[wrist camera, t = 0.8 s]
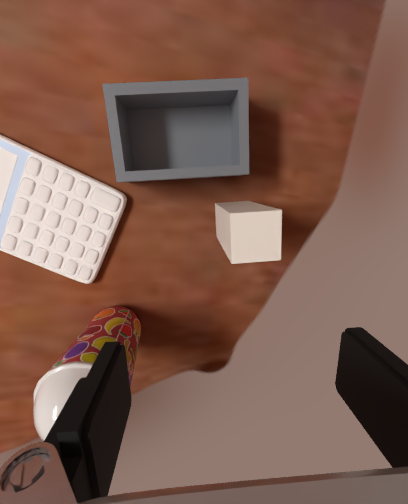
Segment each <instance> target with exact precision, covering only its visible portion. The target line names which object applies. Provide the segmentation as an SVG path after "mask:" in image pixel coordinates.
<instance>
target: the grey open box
mask: <svg viewBox="0 0 408 504" xmlns="http://www.w3.org/2000/svg"><path fill="white" fill-rule="evenodd" d="M103 91H104V98H105V105H106V112H107V118H108V125H109V132H110V139H111V146H112V153H113V160H114V167H115V174H116V180H117V182H144V181H160V180H177V179H194V178H210V177H227V176H241V175H247V174H249V101H248V78H231V79H207V80H184V81H160V82H136V83H113V84H103Z"/></svg>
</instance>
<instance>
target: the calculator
mask: <svg viewBox="0 0 408 504" xmlns="http://www.w3.org/2000/svg"><path fill="white" fill-rule="evenodd" d="M51 183H52V184H51ZM66 190H67V191H66ZM126 202H127V197H126V196H125V194H123V193H122V192H120V191H118V190H117V189H115V188H112V187H110V186H108V185H106V184H104V183H102V182H100V181H98V180H96V179H94V178H91V177H89V176H87V175H85V174H83V173H81V172H79V171H77V170H75V169H72V168H70V167H68V166H66V165H64V164H62V163H60V162H58V161H56V160H54V159H51V158H49V157H47V156H45V155H43V154H41V153H39V152H37V151H35V150H32V149H30V148H28V147H26V146H24V145H22V144H20V143H18V142H16V141H14V140H11V139H9V138H7V137H5V136H3V135H1V134H0V250H1V251H3V252H6V253H8V254H11V255H13V256H16V257H18V258H21V259H23V260H26V261H28V262H31V263H33V264H36V265H38V266H41V267H43V268H46V269H48V270H51V271H53V272H56V273H59V274H61V275H64V276H66V277H69V278H71V279H74V280H76V281H79V282H82V283H86V284H88V283H91V282H93V281H94V279H95V278H96V276H97V274H98V272H99V269H100V267H101V265H102V262H103V260H104V257H105V255H106V253H107V250H108V248H109V245H110V243H111V240H112V238H113V236H114V233H115V231H116V228H117V226H118V223H119V221H120V219H121V216H122V214H123V211H124V209H125V206H126ZM23 214H24V215H23ZM96 231H97V232H96ZM71 234H72V235H71ZM50 245H51V246H50ZM44 262H45V263H44Z"/></svg>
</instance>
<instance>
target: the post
mask: <svg viewBox="0 0 408 504" xmlns="http://www.w3.org/2000/svg"><path fill="white" fill-rule="evenodd" d="M215 213H216V234H217V238H218V240H219V242H220V244H221V246H222V247H223V249H224V251H225V253H226V255H227V256H228V258H229V260H230V262H231V264H236V263H249V262H262V261H275V260H281V234H282V210H280V209H277V208H273V207H269V206H266V205H262V204H258V203H255V202H251V201H240V202H225V203H215Z"/></svg>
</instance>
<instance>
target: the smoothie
mask: <svg viewBox="0 0 408 504" xmlns="http://www.w3.org/2000/svg"><path fill="white" fill-rule="evenodd" d="M140 335H141V324H140V321H139V319H138V318H137V316H136V315H135V313H134V312H133V311H131V310H130V309H128V308H126V307H123V306H113V307H109V308H105V309H103V310H101V311H100V312H98V314H97V315H96V316H95V317H94V318H93V319H92V321H91V322H90V323H89V324H88V325H87V326H86V328H85V329H84V330H83V331H82V332H81V333H80V335H79V336H78V337H77V338H76V339H75V340H74V342H73V343H72V344H71V345H70V346H69V348H68V349H67V350H66V351H65V352H64V353H63V355H62V356H61V357H60V358H59V359H58V360H57V362H56V363H55V364H54V365H53V366H52V367H51V369H50V370H49V371H48V372H47V373H46V374H45V375H44V376H43V377H42V378H41V379H40V380H39V381H38V383H37V386H36V388H35V391H34V425H35V427H36V430H37V432H38V434H39V436H40V438H41V439H42V440H43V441H44V440H45V439H46V437H47V435H48V433H49V431H50V430H51V428H52V426H53V424H54V423H55V421H56V419H57V417H58V416H59V414H60V412H61V410H62V408H63V407H64V405H65V403H66V401H67V400H68V398H69V396H70V394H71V392H72V391H73V389H74V387H75V385H76V384H77V382H78V381H79V379H80V378H83V377H87V375H88V373H89V371H90V369H91V367H92V365H93V363H94V362H95V360H96V358H97V356H98V354H99V352H100V350H101V348H102V347H103V345H104V343H105V342H114V341H119V342H120V343H121V345H125V349H126V357H127V366H128V374H129V382H130V385H131V380H132V375H133V370H134V365H135V360H136V355H137V350H138V345H139V340H140Z"/></svg>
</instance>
